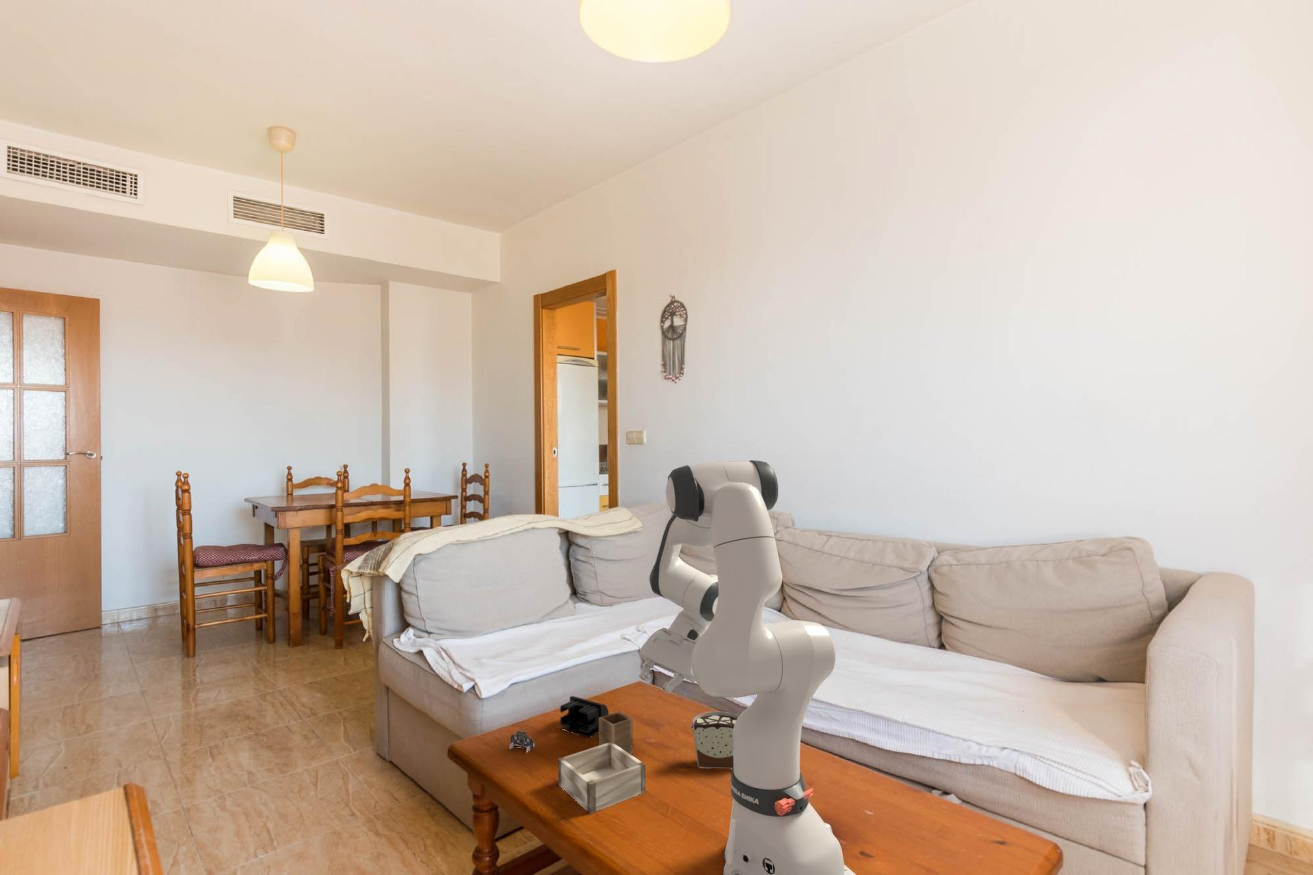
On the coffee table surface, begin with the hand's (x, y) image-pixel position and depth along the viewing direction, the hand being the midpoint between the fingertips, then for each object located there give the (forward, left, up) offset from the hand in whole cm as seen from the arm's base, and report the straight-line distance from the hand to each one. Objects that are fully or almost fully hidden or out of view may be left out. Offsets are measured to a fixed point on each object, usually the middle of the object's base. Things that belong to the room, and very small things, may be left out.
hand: (653, 685), depth 156 cm
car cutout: (+12, +24, -14) cm, 30 cm away
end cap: (+16, +10, -13) cm, 23 cm away
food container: (-17, -5, -13) cm, 22 cm away
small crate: (0, +11, -13) cm, 17 cm away
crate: (-11, +21, -13) cm, 27 cm away
